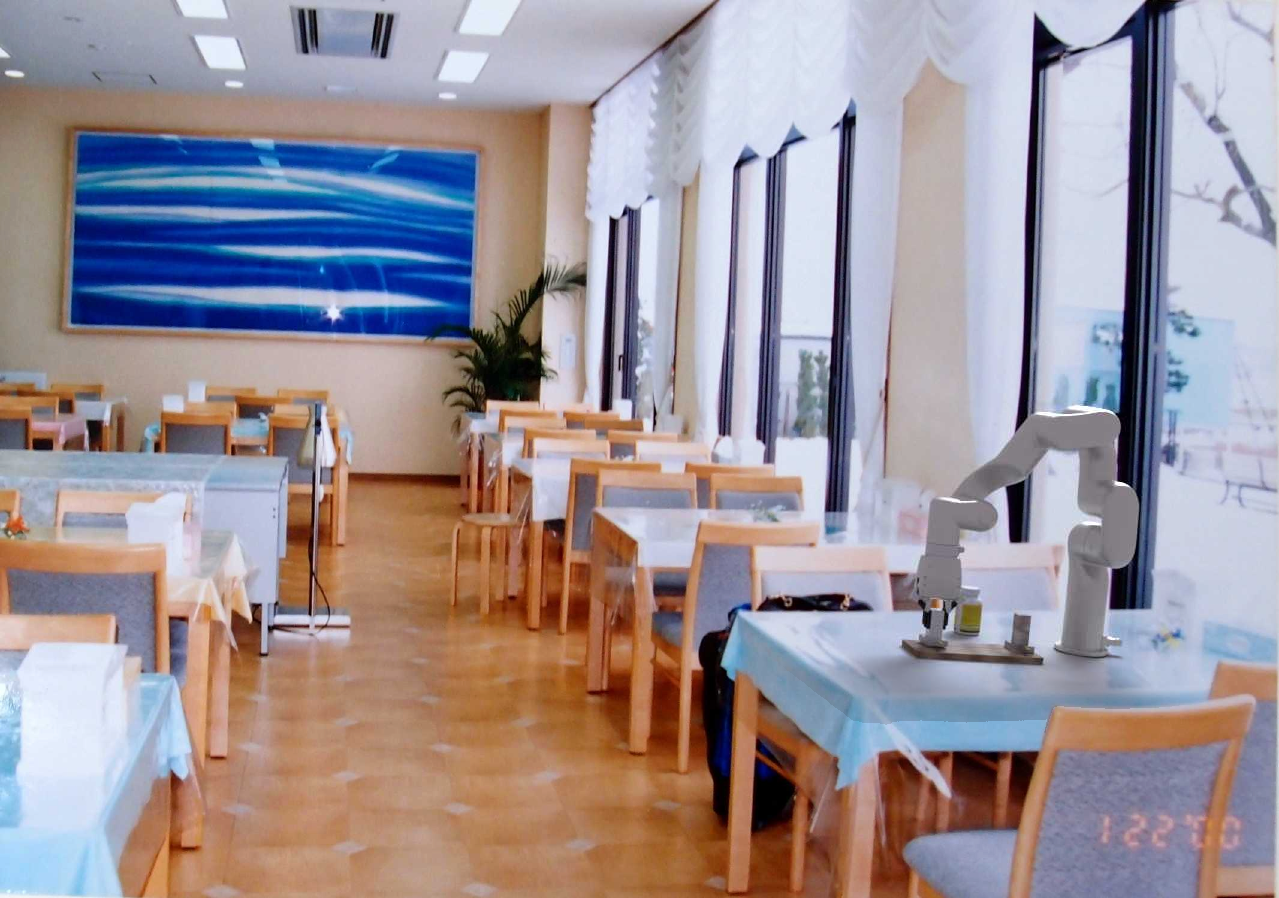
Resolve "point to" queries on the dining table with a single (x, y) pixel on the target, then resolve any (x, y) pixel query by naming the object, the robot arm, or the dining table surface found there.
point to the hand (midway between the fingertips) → (934, 627)
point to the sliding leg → (935, 630)
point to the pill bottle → (968, 612)
